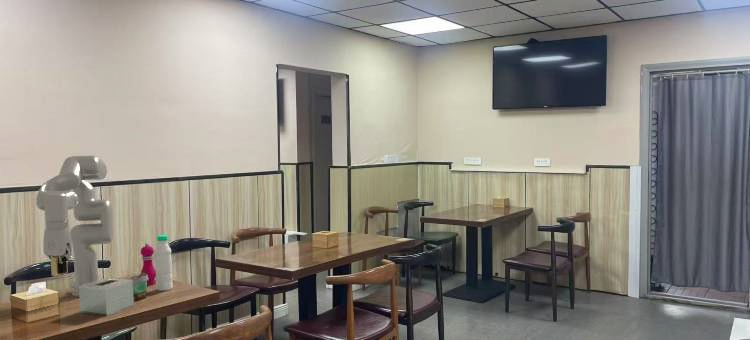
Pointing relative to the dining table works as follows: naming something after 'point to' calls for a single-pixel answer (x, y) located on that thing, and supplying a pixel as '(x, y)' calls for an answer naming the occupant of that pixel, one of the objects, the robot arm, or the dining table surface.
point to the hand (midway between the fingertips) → (59, 272)
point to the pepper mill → (148, 264)
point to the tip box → (106, 296)
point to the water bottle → (163, 264)
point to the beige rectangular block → (55, 266)
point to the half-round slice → (139, 286)
